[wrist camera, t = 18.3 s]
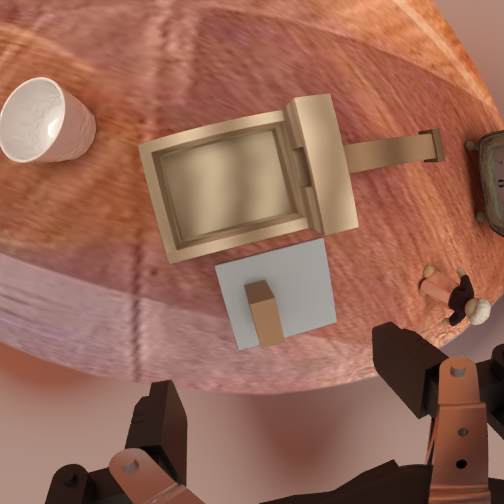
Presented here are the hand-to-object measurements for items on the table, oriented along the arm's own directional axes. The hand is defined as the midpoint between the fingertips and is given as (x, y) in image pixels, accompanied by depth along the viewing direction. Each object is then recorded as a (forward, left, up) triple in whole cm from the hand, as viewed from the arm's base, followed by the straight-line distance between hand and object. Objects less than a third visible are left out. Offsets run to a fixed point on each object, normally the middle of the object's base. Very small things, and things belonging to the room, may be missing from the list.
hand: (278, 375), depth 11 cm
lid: (+4, -7, -25) cm, 27 cm away
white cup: (-15, +18, -25) cm, 34 cm away
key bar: (+15, +7, -17) cm, 24 cm away
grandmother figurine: (+25, -12, -25) cm, 37 cm away
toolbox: (+2, +7, -25) cm, 26 cm away
